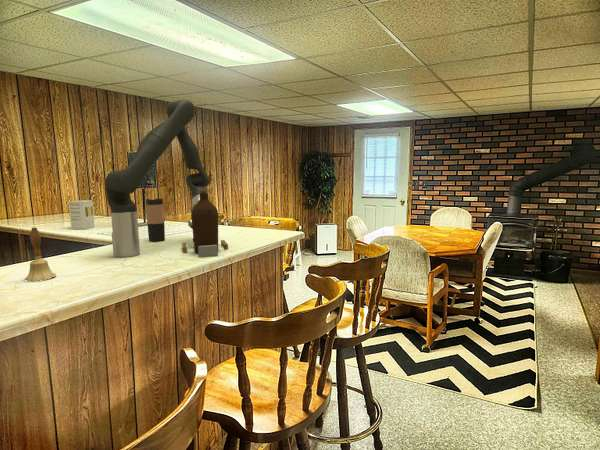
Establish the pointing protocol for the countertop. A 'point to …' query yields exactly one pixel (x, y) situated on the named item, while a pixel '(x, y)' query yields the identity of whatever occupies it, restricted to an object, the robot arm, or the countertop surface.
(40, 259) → the hand bell
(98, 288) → the countertop surface
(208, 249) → the block
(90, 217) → the supplement box
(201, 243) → the olive oil
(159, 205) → the travel mug
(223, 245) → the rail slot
